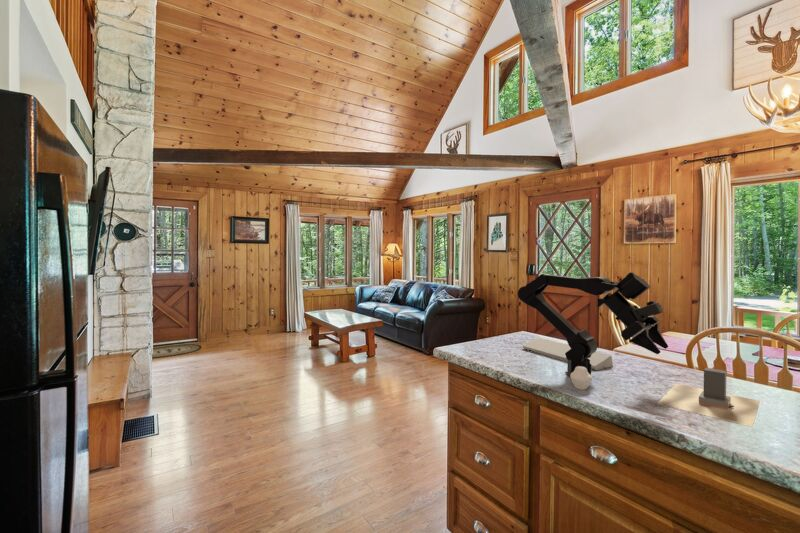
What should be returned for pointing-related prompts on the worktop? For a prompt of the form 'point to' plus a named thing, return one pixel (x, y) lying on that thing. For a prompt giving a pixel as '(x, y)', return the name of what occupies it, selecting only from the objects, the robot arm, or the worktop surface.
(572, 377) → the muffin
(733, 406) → the birch board
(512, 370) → the worktop surface
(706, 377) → the grey stepped block
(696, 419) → the worktop surface
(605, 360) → the decorative molding
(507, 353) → the worktop surface
